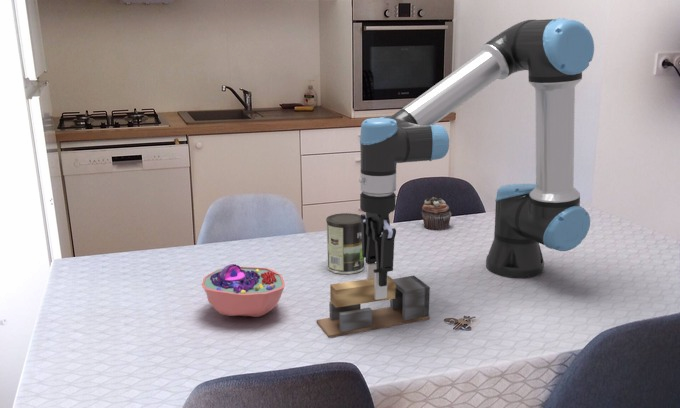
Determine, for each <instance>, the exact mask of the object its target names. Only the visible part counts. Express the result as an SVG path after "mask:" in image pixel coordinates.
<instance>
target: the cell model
mask: <svg viewBox="0 0 680 408" xmlns="http://www.w3.org/2000/svg"><path fill="white" fill-rule="evenodd" d="M201 286H202V288H203V290H204V293H205V295H206V298H207V301H208V303H209V304H210V305H211V307H212V308H213V309H214V310H215V311H216V312H217V313H219V314H220V315H223V316H228V317H240V316H241V317H252V318H258V317H259V318H260V317H263V316H264V315H266V314H268V313H269V312H270V311H272V310H273V309H274V308H275V307H276V306H277V305H278V304H279V302H280V299H281V297H282V295H283V291H284V289H285V286H286V285H285V279H284V277H283V275H282V274H281V273H279V272H277V271H275V270H273V269H271V268H268V267H255V266H241V265H239V264H238V265H237V264H234V263H232V264H228V265H226V266H224V267H223V268H219V269H217V270H214V271H211V273H208V274H207V275H205V276H204V277H203V279H202V282H201Z"/></svg>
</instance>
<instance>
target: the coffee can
mask: <svg viewBox="0 0 680 408" xmlns="http://www.w3.org/2000/svg"><path fill="white" fill-rule="evenodd" d="M361 215H362V214H357V213H350V212H347V213H343V212H342V213H335V214H331V215H329V216H327V217H326V218H325V219H326V220H325V221H326V241H327V242H326V244H327V245H326V247H327V248H326V249H327V252H326V253H327V266H326V267H327V270H328V271H329V272H331V273H333V274H334V273H335V274H338V275H353V274H358V273H360V272H362V271H364V269H365V258H363V257H362V224H361V218H360V216H361Z"/></svg>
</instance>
